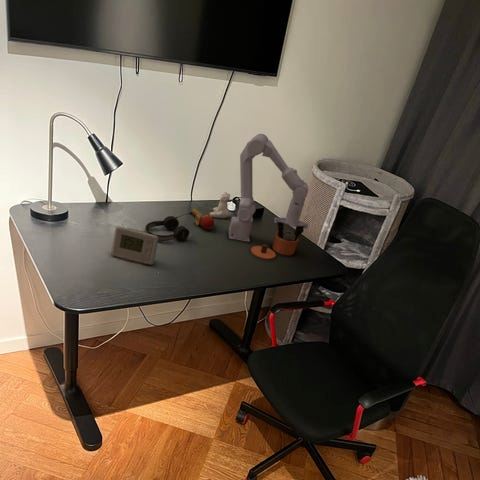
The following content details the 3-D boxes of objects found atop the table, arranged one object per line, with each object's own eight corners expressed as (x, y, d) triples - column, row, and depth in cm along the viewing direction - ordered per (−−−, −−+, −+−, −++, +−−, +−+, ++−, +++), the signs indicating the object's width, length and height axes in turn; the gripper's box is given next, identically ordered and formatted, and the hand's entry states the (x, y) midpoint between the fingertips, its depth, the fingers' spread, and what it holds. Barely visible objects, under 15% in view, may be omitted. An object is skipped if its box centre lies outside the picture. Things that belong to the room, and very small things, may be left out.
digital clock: (108, 255, 174) (110, 229, 168) (120, 246, 181) (122, 221, 175) (148, 270, 171) (151, 243, 166) (159, 260, 179) (162, 235, 173)
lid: (251, 258, 197) (253, 248, 195) (249, 246, 206) (251, 237, 204) (276, 262, 199) (279, 253, 197) (273, 250, 208) (275, 241, 206)
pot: (273, 253, 205) (277, 239, 201) (270, 243, 213) (274, 229, 209) (295, 257, 207) (300, 243, 203) (292, 247, 215) (296, 233, 211)
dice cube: (292, 246, 207) (295, 235, 204) (282, 245, 205) (285, 235, 202) (287, 240, 211) (291, 230, 208) (278, 240, 209) (280, 230, 206)
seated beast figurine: (213, 210, 231) (218, 186, 224) (230, 215, 230) (235, 191, 223) (208, 216, 223) (213, 192, 216) (226, 221, 222) (231, 197, 216)
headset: (199, 217, 193) (154, 225, 184) (197, 238, 199) (153, 247, 190) (183, 203, 202) (139, 210, 192) (182, 224, 208) (140, 231, 198)
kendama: (184, 217, 219) (200, 229, 206) (188, 204, 217) (204, 215, 204) (199, 220, 224) (215, 232, 210) (203, 207, 221) (219, 219, 208)
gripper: (279, 212, 195) (271, 241, 203) (312, 218, 198) (303, 247, 205) (277, 205, 201) (269, 234, 208) (309, 211, 203) (300, 240, 211)
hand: (286, 240), depth 207 cm, fingers closed on dice cube, 6 cm apart
